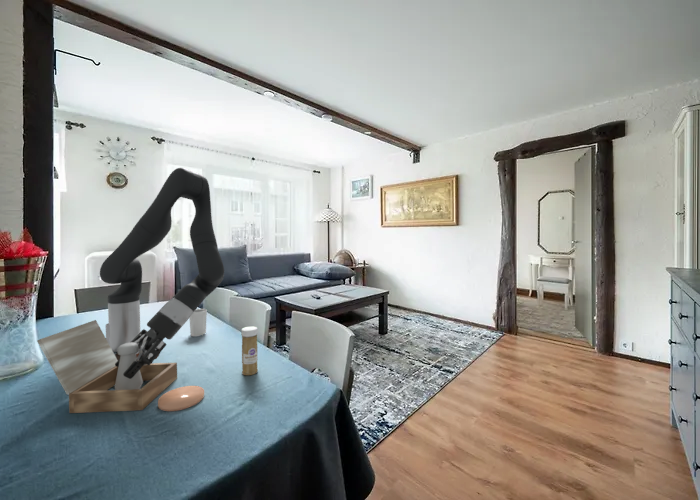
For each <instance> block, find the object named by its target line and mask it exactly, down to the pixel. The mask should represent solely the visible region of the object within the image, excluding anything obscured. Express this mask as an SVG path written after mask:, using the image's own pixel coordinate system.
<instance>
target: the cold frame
mask: <svg viewBox="0 0 700 500" xmlns="http://www.w3.org/2000/svg"><path fill="white" fill-rule="evenodd" d="M36 342H37V344H38V345H39V346H40V349H41V351H42V352H43V354H44V357H45V358H46V360H47V361H48V363H49V365H50V367H51V369H52V371H53V373H54V374H55V376H56V378H57V380H58V381H59V383H60V385H61V387H62V388H63V391H65V392H64V393H65V394H66V395H68V409H69V411H68V412H69V414H77V413H78V414H79V413H81V414H83V413H99V412H100V413H102V412H103V413H105V412H127V411H129V412H131V411H143V410H144V409H145V408H146V407H148V406H149V404H151V403H152V402H153V401H154V400H155V399H157V398H158V397H159V395H160V394H162V393H163V392H164V391H165V390H166V389H167V388H168V387H169V386H170V385H172V383H174V382H175V381H176V380H177V379H178V362H155V363H154V362H152V363H151V364H150V365H147V364H146V365H145V366H144V365H143V366H142V367H141V369H140V373H141V376H142V380H143V382H144V381H145V382H148V383H146V384H144V386H143V385H142V386H141V387H140V389H133V390H115V389H111V388H112V387H113V388H114V387H115V382H116V377H117V372H118V367H117V366H115V363H116V362H117V361H118V360H117V358H116V356H115V352H113V351H112V349H111V347H110V345H109V343H108V342H107V340H106V335H104V333H103V331H102V329H101V327H100V324H99V323H98V322H97V320H96V319H94V320H92V321H88V322H85V323H83V324H80V325H77V326H74V327H71V328H68V329H65V330H63V331H60V332H57V333H54V334H50V335H49V336H45V337H42V338H40V339H37V340H36Z"/></svg>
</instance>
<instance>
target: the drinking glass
mask: <svg viewBox="0 0 700 500" xmlns="http://www.w3.org/2000/svg"><path fill="white" fill-rule="evenodd" d="M207 311H208V310H207V309H206V308H197V309H196V310H195V311H194V312H193V313H192V315H191V316H190V318H189V319H188V320H189V330H190V336H191V337H201V336H200V335H202V336H204V335H203V334H205V333H206V334H207V315H208V313H207ZM206 334H205V335H206Z"/></svg>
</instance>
